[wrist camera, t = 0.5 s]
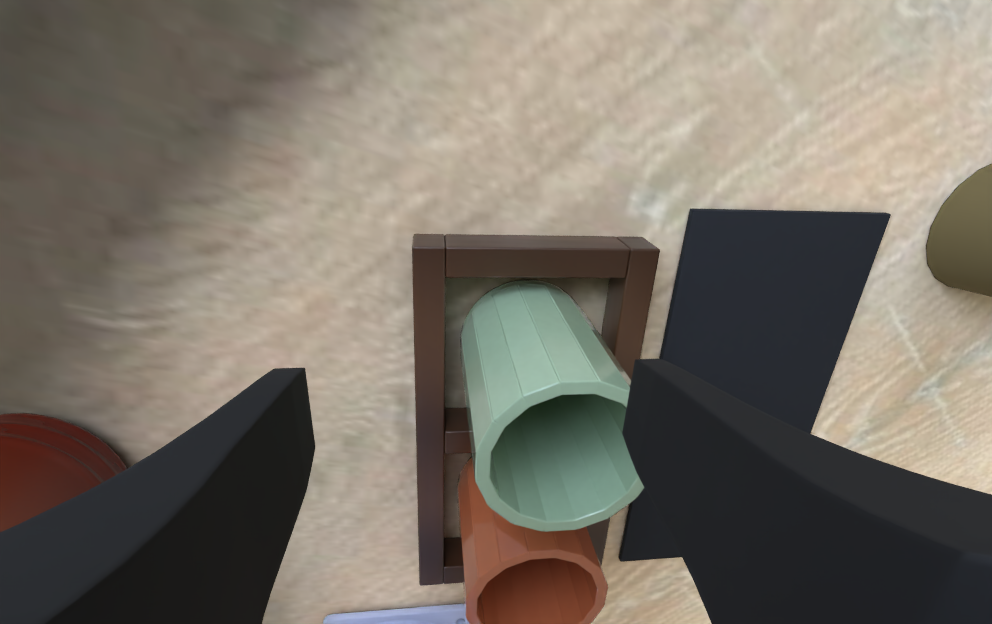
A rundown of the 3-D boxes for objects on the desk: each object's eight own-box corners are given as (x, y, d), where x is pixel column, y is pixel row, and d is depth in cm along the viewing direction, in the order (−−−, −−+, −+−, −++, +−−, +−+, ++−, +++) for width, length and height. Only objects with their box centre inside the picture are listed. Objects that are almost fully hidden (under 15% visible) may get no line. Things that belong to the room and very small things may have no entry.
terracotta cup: (560, 520, 27) (597, 642, 21) (456, 527, 26) (464, 655, 20) (572, 435, 25) (616, 545, 19) (458, 440, 24) (467, 556, 18)
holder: (590, 544, 28) (600, 572, 26) (420, 555, 27) (419, 586, 25) (643, 236, 21) (661, 249, 19) (413, 233, 20) (412, 246, 18)
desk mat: (764, 546, 30) (767, 551, 30) (618, 557, 29) (620, 561, 28) (885, 212, 22) (891, 214, 21) (689, 208, 21) (693, 210, 20)
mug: (-62, 529, 22) (-406, 840, 13) (-79, 364, 19) (-544, 621, 10) (224, 562, 25) (106, 839, 16) (249, 424, 22) (121, 666, 13)
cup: (578, 391, 24) (643, 526, 16) (458, 394, 23) (472, 537, 16) (593, 279, 21) (677, 378, 14) (461, 279, 21) (478, 383, 13)
